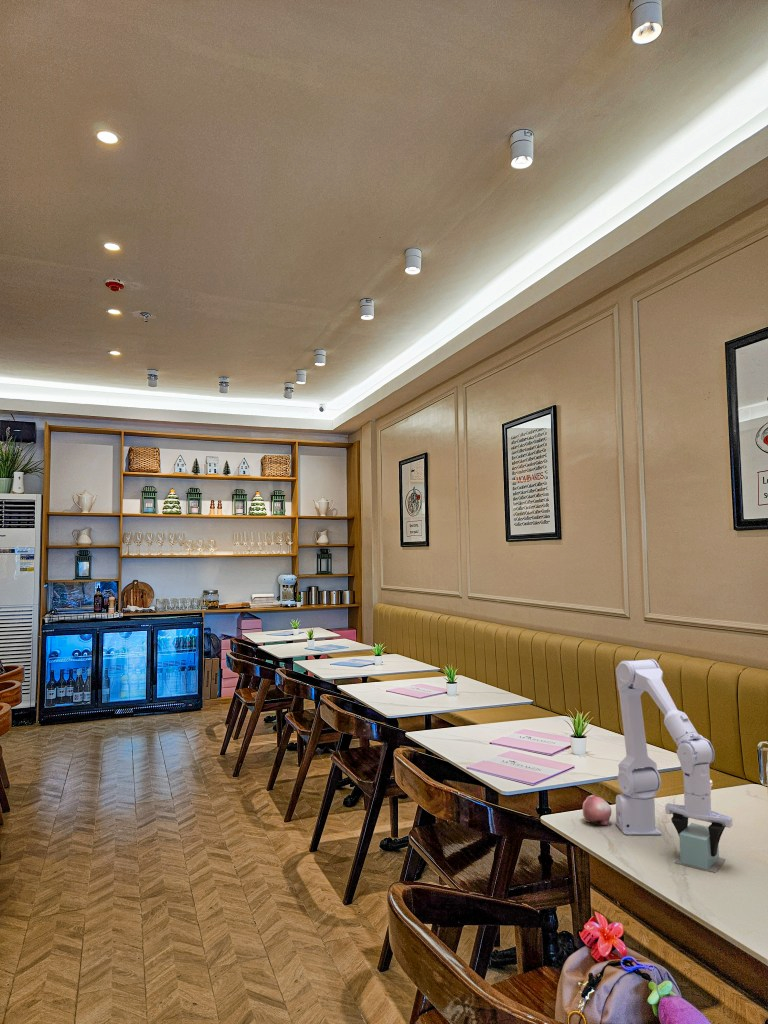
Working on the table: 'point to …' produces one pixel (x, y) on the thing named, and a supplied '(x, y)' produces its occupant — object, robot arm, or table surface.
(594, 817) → the onion
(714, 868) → the tape square
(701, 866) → the light blue upright block
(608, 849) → the table surface
